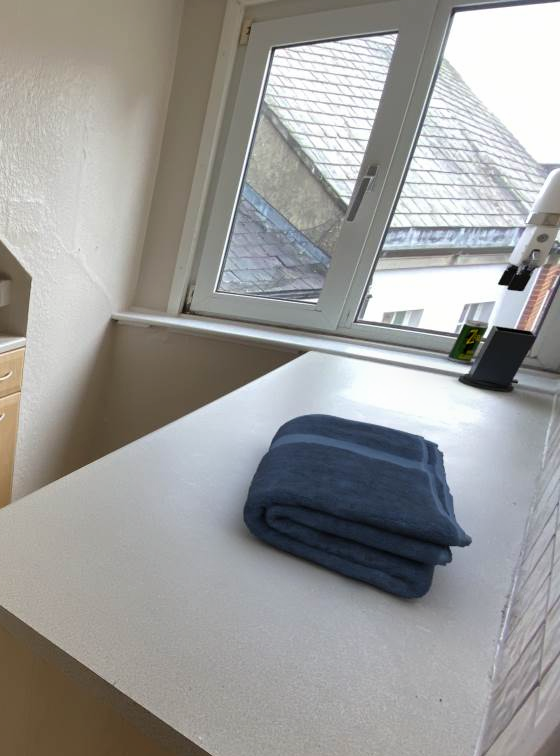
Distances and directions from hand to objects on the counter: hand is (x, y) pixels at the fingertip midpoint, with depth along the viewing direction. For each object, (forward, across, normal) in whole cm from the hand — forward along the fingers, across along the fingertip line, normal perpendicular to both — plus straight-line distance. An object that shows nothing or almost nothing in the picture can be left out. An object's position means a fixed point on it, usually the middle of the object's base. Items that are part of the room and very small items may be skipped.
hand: (509, 288), depth 150 cm
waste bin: (+23, -16, -1) cm, 28 cm away
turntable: (+23, -16, -1) cm, 28 cm away
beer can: (+24, +11, 0) cm, 26 cm away
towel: (+23, -119, +35) cm, 127 cm away
